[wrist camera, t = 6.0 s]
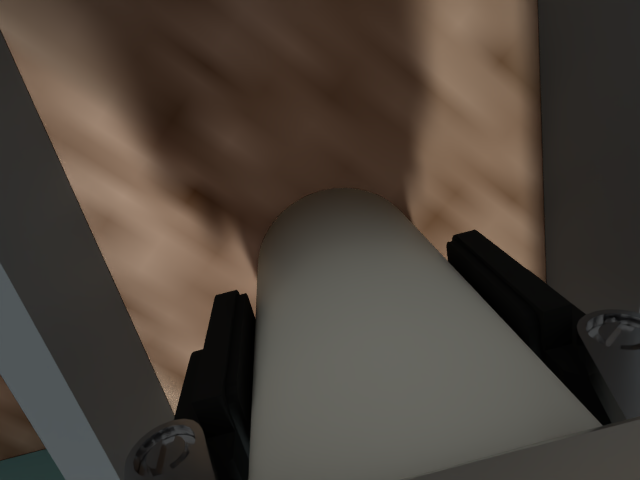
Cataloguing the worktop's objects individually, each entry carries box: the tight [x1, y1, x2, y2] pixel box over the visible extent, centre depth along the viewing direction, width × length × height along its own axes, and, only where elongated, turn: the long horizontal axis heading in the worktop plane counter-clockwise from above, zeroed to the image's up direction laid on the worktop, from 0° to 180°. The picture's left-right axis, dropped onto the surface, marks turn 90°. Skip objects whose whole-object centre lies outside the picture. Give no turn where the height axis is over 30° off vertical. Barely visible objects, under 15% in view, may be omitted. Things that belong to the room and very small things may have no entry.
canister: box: [248, 188, 603, 480], centre depth 10 cm, size 5×5×10 cm
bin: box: [0, 0, 640, 480], centre depth 12 cm, size 16×22×4 cm
